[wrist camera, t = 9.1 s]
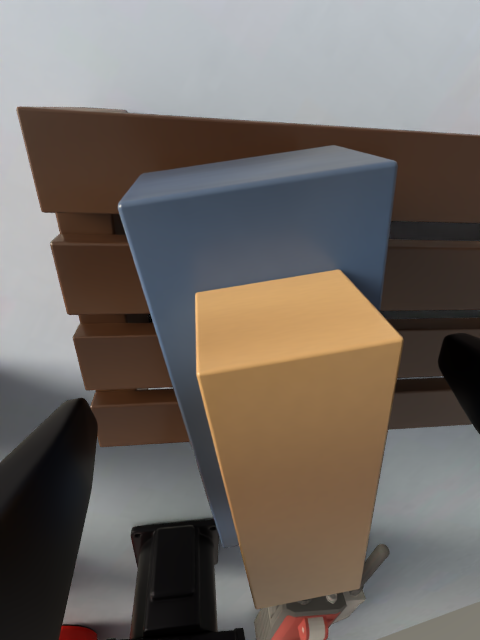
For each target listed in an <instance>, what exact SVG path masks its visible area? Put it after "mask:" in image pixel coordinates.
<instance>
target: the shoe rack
mask: <svg viewBox="0 0 480 640" xmlns="http://www.w3.org/2000/svg"><path fill="white" fill-rule="evenodd" d="M17 114H18V118H19V122H20V126H21V130H22V134H23V138H24V142H25V146H26V150H27V154H28V159H29V163H30V167H31V171H32V175H33V179H34V183H35V187H36V191H37V195H38V199H39V203H40V207H41V211H42V212H45V213H55V214H56V218H57V222H58V227H59V231H60V234H59V235H58V236H57V237H56V238H55V239H53V240H52V241H51V243H50V246H51V250H52V254H53V258H54V262H55V266H56V270H57V274H58V278H59V282H60V286H61V290H62V294H63V299H64V303H65V307H66V311H67V314H69V315H79V320H80V325H79V326H78V328H77V330H76V332H75V334H74V336H73V341H74V345H75V349H76V353H77V357H78V361H79V365H80V369H81V373H82V377H83V381H84V385H85V389H86V390H96V393H95V394H94V397H93V400H92V403H91V406H90V408H91V410H92V412H93V414H94V416H95V418H96V420H97V424H98V434H97V437H98V441H99V445H100V447H113V446H129V445H145V444H162V443H178V442H190V440H189V437H188V434H187V431H186V427H185V424H184V421H183V418H182V414H181V411H180V408H179V405H178V401H177V398H176V395H175V392H174V389H153V390H148V388H162V387H173V385H172V382H171V379H170V376H169V372H168V369H167V366H166V363H165V360H164V356H163V353H162V350H161V347H160V343H159V340H158V337H157V334H156V331H155V327H154V324H153V323H149V318H148V314H150V311H149V308H148V305H147V301H146V298H145V295H144V292H143V289H142V285H141V282H140V279H139V276H138V272H137V269H136V266H135V263H134V260H133V256H132V253H131V250H130V247H129V243H128V240H127V237H126V234H125V231H124V227H123V224H122V221H121V218H120V214H119V211H118V203H119V202H120V200H121V199H122V198H123V196H124V195H125V194H126V193H127V191H128V190H129V189H130V187H131V186H132V185H133V184H134V182H135V181H136V180H137V178H138V177H139V176H140V175H141V174H143V173H149V172H156V171H163V170H169V169H176V168H183V167H189V166H196V165H203V164H210V163H216V162H223V161H230V160H237V159H243V158H250V157H257V156H263V155H270V154H277V153H284V152H290V151H297V150H304V149H311V148H317V147H324V146H331V145H336V146H340V147H344V148H348V149H351V150H355V151H359V152H363V153H367V154H371V155H375V156H379V157H383V158H386V159H390V160H394V161H396V162H397V165H398V169H397V177H396V185H395V193H394V201H393V209H392V218H391V221H405V222H445V223H480V135H472V134H456V133H440V132H424V131H408V130H393V129H377V128H361V127H345V126H329V125H313V124H297V123H282V122H266V121H250V120H234V119H218V118H202V117H186V116H170V115H155V114H139V113H128V112H127V111H126V110H118V109H102V108H86V107H17ZM421 310H480V241H455V240H398V239H389V242H388V250H387V258H386V266H385V274H384V283H383V291H382V299H381V307H380V311H421ZM387 320H388V322H389V323H390V324H391V325H392V326H393V327H394V328H395V329H396V330H397V331H398V332H399V333H400V335H401V336H402V337H403V340H404V343H403V349H402V355H401V360H400V366H399V371H398V377H397V378H409V377H434V376H443V375H442V373H441V371H440V369H439V366H438V358H439V354H440V350H441V346H442V342H443V339H444V338H445V336H447V335H450V334H456V333H466V334H469V335H472V336H474V337H477V338H480V318H421V319H387ZM470 424H472V423H471V422H470V420H469V418H468V417H467V415H466V414H465V412H464V410H463V409H462V407H461V405H460V403H459V402H458V400H457V398H456V397H455V395H454V393H453V392H452V390H451V388H450V386H449V385H448V383H447V381H446V380H445V378H421V379H397V383H396V388H395V394H394V399H393V405H392V411H391V416H390V422H389V428H388V430H389V429H405V428H421V427H438V426H454V425H470Z"/></svg>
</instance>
